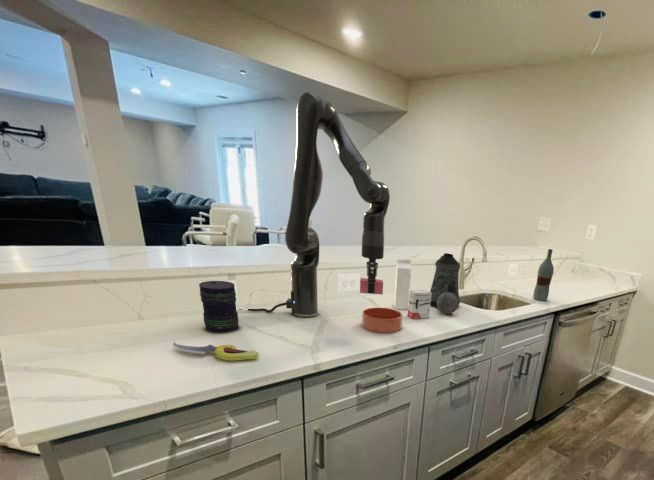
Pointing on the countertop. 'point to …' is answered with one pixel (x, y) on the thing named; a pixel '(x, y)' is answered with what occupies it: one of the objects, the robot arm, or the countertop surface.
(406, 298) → the milk
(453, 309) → the decorative ball
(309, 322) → the countertop surface
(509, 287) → the countertop surface
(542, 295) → the bottle
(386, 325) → the bowl
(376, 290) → the eraser
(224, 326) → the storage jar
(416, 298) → the ink box
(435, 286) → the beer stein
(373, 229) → the robot arm
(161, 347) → the countertop surface
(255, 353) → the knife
